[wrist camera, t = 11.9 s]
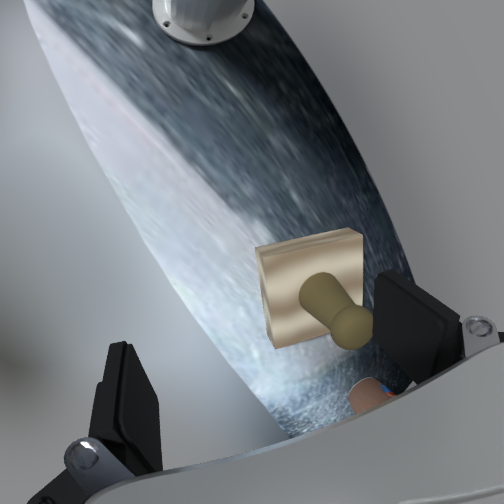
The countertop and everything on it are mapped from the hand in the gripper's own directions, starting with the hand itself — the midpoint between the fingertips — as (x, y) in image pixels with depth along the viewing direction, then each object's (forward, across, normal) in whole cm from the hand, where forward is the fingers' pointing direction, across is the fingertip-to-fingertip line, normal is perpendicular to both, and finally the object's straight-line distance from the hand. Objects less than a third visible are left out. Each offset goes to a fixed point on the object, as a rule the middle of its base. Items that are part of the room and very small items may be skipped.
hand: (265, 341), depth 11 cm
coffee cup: (+29, -23, +44) cm, 57 cm away
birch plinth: (+30, -13, +15) cm, 36 cm away
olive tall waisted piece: (+26, -13, +15) cm, 32 cm away
